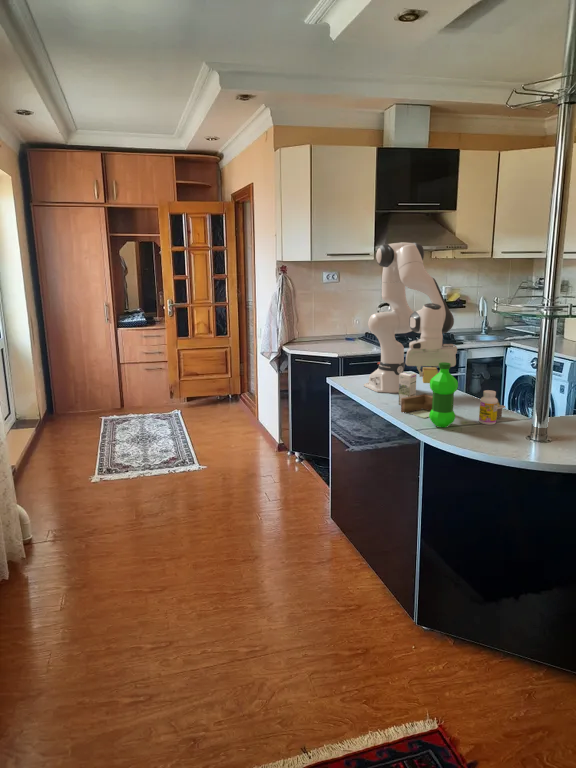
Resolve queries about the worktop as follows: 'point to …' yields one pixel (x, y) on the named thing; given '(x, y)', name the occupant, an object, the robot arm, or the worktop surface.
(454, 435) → the worktop surface
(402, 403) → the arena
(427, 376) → the block
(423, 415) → the pad
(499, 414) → the platform
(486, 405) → the supplement bottle
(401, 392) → the syrup box
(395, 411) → the worktop surface
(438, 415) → the plastic bottle
